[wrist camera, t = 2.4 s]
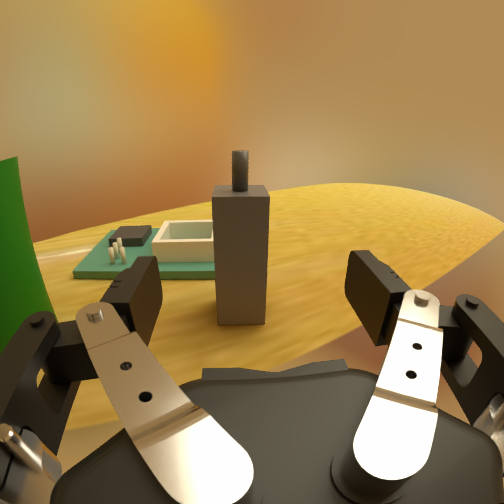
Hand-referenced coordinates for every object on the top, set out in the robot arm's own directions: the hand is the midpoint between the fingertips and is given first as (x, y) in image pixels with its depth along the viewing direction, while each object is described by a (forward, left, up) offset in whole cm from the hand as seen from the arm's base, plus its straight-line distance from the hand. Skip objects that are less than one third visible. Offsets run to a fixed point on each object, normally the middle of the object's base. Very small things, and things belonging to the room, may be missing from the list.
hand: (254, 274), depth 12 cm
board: (-10, +24, -10) cm, 28 cm away
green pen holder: (-21, +5, -10) cm, 24 cm away
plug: (0, +12, -10) cm, 15 cm away
